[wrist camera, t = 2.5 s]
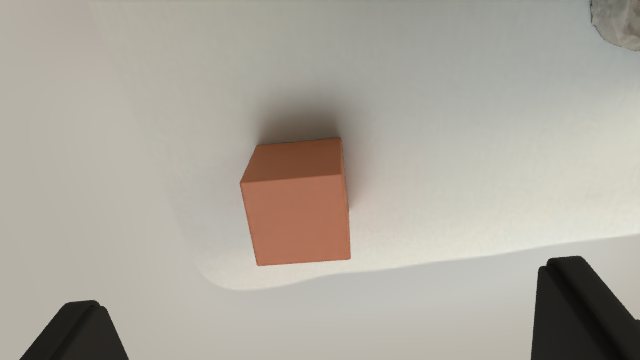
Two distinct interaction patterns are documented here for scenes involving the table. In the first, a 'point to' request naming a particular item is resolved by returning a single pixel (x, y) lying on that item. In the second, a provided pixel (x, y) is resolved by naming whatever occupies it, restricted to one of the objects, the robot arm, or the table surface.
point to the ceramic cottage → (618, 21)
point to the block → (297, 202)
